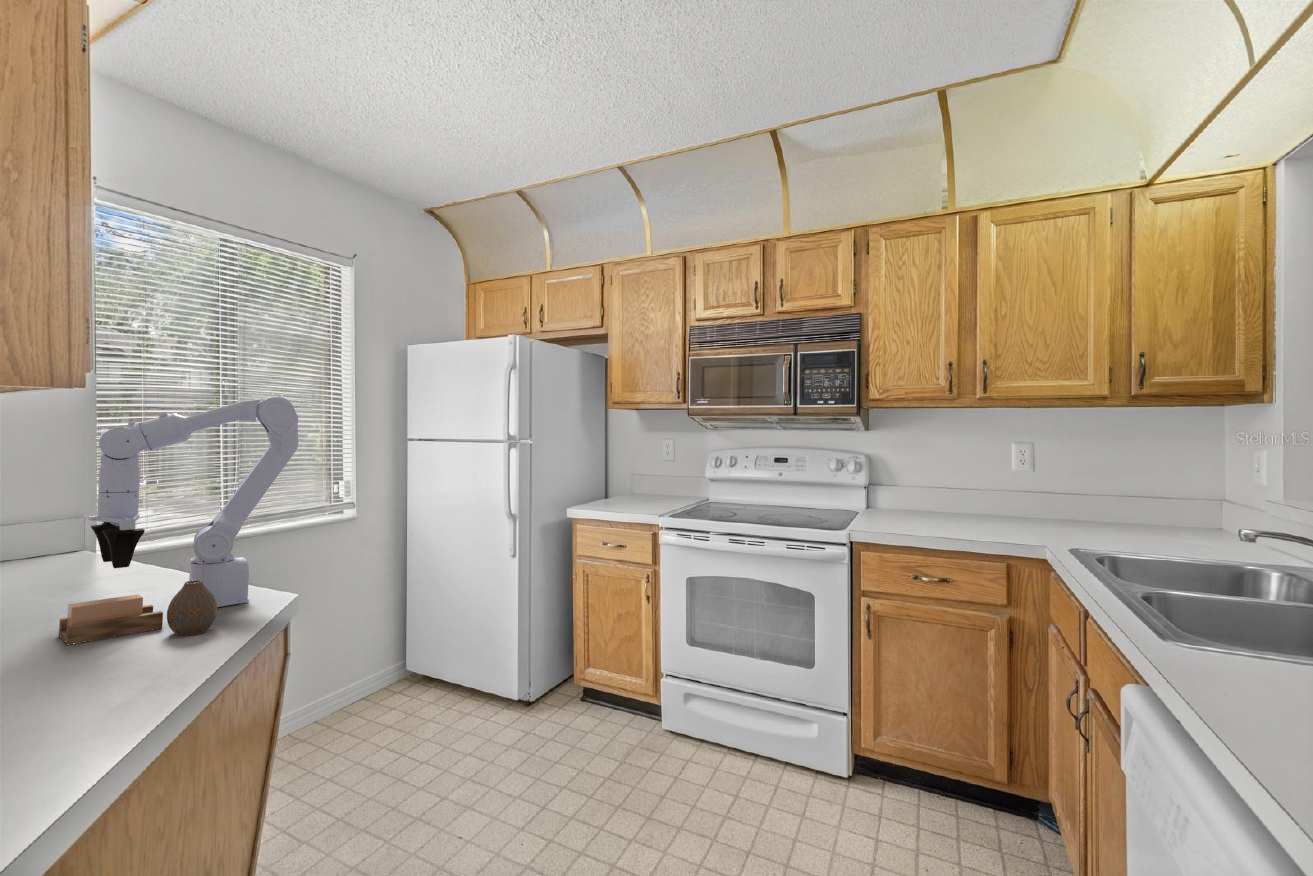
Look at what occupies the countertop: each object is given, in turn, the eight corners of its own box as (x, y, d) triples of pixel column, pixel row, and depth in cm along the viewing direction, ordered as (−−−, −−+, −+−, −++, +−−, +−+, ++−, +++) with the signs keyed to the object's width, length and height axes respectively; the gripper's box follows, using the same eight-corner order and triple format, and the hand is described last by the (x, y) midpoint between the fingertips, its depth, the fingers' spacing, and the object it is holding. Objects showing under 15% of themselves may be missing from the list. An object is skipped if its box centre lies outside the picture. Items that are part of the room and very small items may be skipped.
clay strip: (137, 619, 106) (138, 594, 106) (141, 623, 104) (143, 597, 104) (66, 631, 99) (68, 604, 99) (70, 635, 97) (71, 607, 97)
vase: (220, 632, 104) (222, 582, 104) (169, 641, 99) (172, 588, 99) (211, 623, 109) (213, 575, 109) (162, 631, 104) (165, 580, 104)
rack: (150, 620, 109) (151, 604, 109) (162, 628, 105) (163, 612, 105) (58, 635, 100) (59, 618, 100) (67, 645, 95) (68, 627, 95)
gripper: (81, 489, 113) (78, 561, 113) (99, 495, 104) (96, 573, 104) (130, 488, 119) (126, 556, 118) (151, 494, 110) (148, 567, 110)
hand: (115, 564), depth 112 cm, fingers open, 7 cm apart
